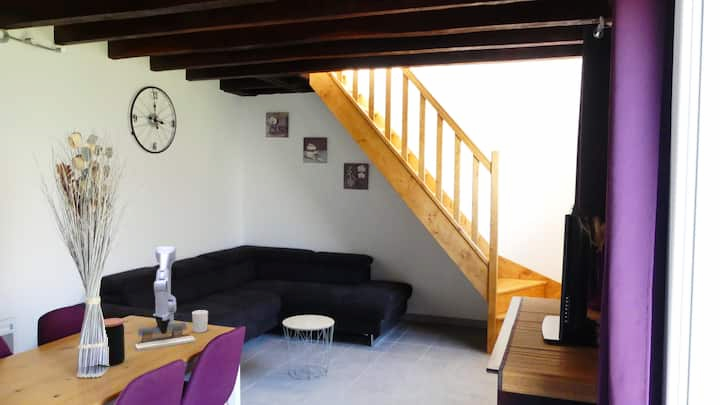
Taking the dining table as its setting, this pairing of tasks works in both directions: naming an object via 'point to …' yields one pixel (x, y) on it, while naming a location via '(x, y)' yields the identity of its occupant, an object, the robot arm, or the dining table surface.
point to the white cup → (200, 321)
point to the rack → (149, 337)
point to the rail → (157, 329)
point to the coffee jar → (115, 340)
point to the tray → (164, 343)
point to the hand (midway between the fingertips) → (162, 331)
